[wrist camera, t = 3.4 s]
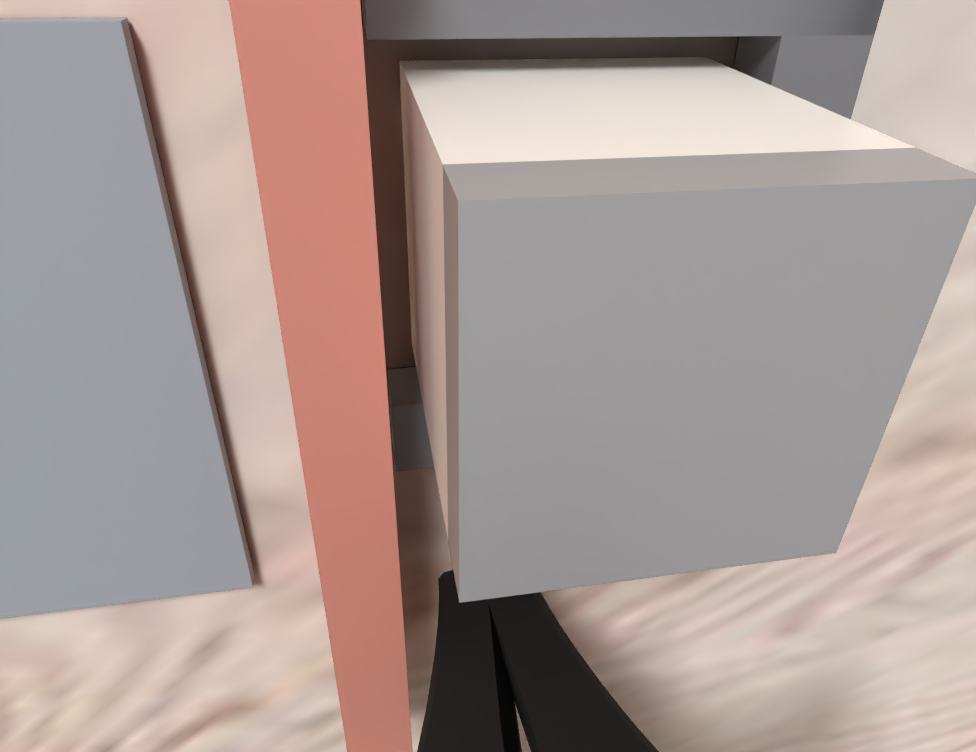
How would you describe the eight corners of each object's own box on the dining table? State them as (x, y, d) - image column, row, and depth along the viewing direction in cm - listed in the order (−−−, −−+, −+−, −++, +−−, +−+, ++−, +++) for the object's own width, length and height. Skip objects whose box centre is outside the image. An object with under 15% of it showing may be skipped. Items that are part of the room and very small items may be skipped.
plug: (704, 56, 10) (986, 177, 5) (659, 323, 12) (836, 553, 8) (399, 60, 9) (457, 200, 5) (411, 341, 11) (458, 602, 7)
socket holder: (853, -85, 9) (907, -85, 8) (734, 398, 13) (761, 433, 12) (355, -95, 8) (357, -95, 7) (391, 431, 12) (396, 471, 11)
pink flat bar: (351, -307, 7) (363, -414, 5) (409, 632, 15) (426, 780, 12) (199, -316, 7) (125, -438, 4) (339, 642, 14) (341, 795, 12)
